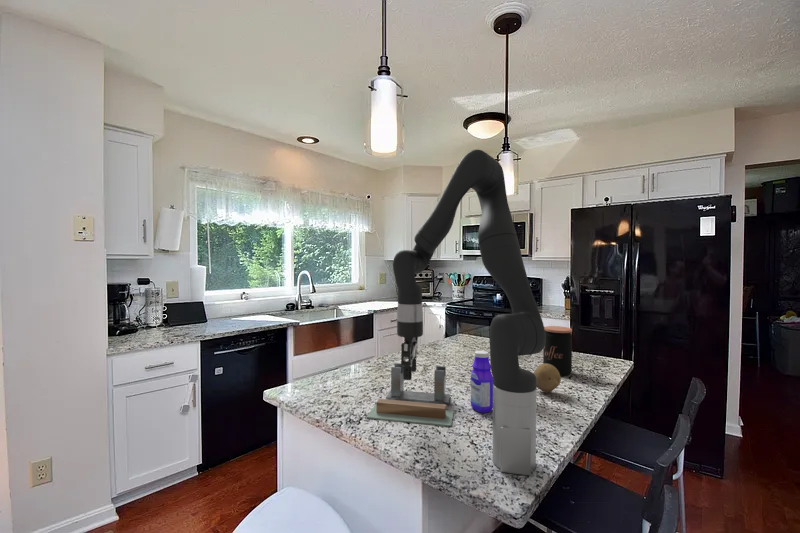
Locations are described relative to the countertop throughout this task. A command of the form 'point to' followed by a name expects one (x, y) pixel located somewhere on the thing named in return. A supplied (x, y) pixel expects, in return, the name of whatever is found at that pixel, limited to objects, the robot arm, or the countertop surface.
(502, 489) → the countertop surface
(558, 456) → the countertop surface
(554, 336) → the coffee jar
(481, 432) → the countertop surface
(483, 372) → the bottle
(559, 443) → the countertop surface
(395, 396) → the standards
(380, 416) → the mat
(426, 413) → the rail
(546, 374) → the tan round lump
